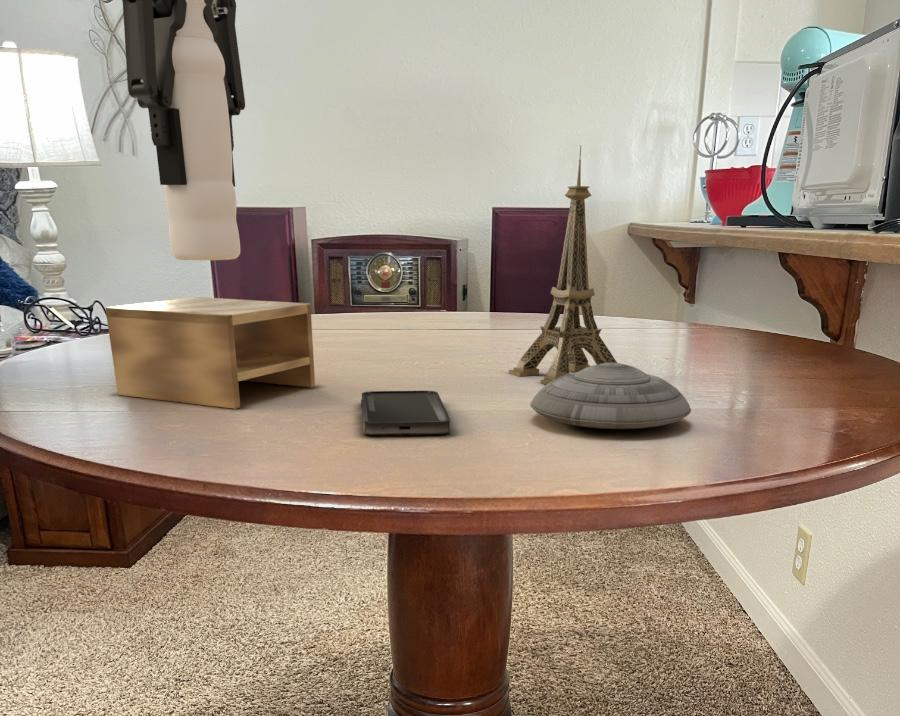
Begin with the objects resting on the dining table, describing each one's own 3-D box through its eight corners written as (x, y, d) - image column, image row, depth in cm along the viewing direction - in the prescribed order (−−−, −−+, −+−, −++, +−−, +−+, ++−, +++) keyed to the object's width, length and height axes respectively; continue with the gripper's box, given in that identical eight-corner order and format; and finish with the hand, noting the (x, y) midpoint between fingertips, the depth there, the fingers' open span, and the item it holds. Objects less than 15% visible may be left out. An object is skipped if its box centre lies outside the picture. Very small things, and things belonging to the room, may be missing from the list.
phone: (436, 390, 92) (451, 421, 78) (436, 401, 93) (451, 433, 79) (360, 391, 91) (361, 422, 78) (360, 402, 92) (362, 435, 78)
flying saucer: (499, 424, 83) (500, 364, 81) (578, 399, 94) (582, 346, 92) (645, 448, 75) (652, 382, 73) (714, 418, 86) (721, 360, 84)
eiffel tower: (508, 372, 110) (515, 146, 100) (581, 367, 114) (594, 149, 104) (552, 386, 101) (565, 140, 91) (629, 380, 105) (649, 143, 95)
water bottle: (162, 260, 89) (127, -39, 79) (182, 257, 96) (151, -20, 86) (233, 260, 89) (206, -39, 79) (247, 257, 96) (224, -20, 86)
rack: (117, 394, 96) (105, 307, 92) (205, 375, 107) (197, 296, 103) (235, 409, 89) (226, 315, 85) (315, 386, 101) (310, 303, 97)
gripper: (120, -136, 71) (157, 182, 80) (270, -72, 87) (287, 187, 96) (54, -122, 74) (97, 183, 83) (210, -62, 90) (232, 188, 99)
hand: (198, 185), depth 90 cm, fingers closed on water bottle, 7 cm apart
